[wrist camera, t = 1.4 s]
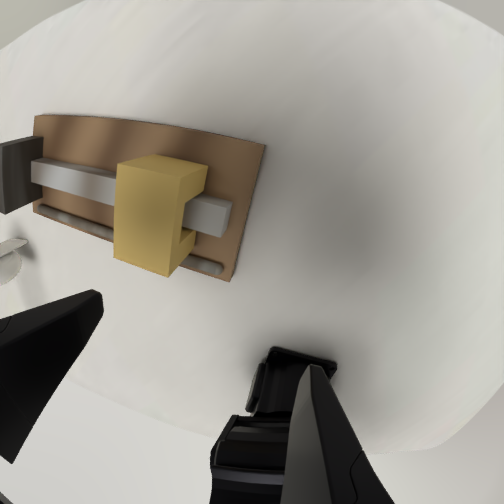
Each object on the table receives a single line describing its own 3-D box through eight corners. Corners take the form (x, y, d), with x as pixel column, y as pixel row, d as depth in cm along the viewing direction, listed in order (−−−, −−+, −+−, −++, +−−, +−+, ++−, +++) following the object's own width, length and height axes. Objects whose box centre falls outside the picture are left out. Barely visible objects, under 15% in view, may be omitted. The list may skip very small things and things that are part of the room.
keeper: (208, 165, 17) (180, 177, 13) (193, 248, 20) (168, 277, 16) (154, 154, 17) (117, 163, 14) (145, 233, 20) (113, 257, 16)
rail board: (264, 145, 17) (245, 152, 12) (232, 275, 22) (208, 324, 16) (42, 114, 19) (-6, 122, 13) (39, 209, 23) (-2, 229, 18)
